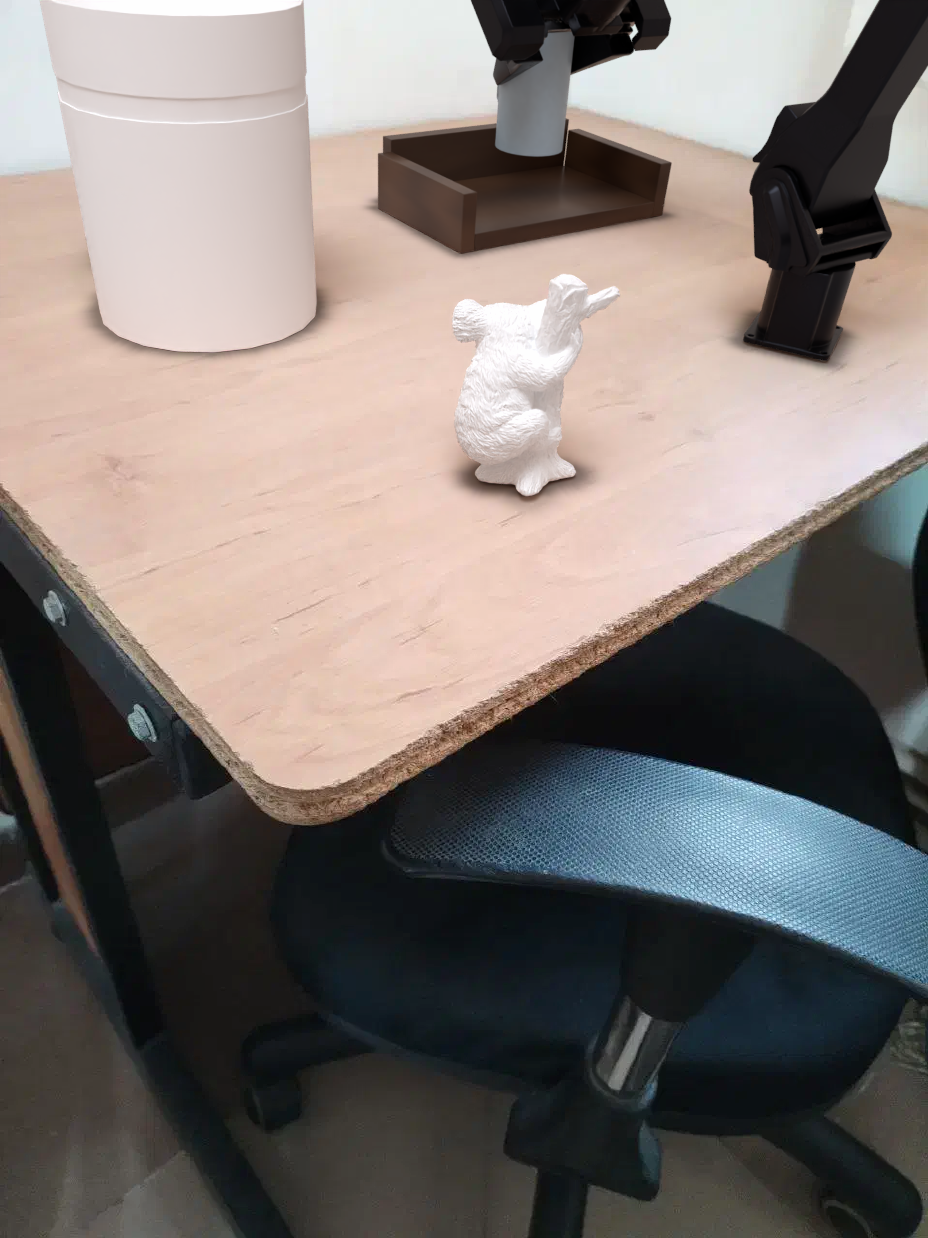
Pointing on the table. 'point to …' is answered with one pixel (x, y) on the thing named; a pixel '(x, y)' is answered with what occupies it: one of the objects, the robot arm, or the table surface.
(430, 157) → the tray
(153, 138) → the canister
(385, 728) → the table surface
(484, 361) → the koala figurine
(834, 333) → the robot arm
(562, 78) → the pale blue cylinder
